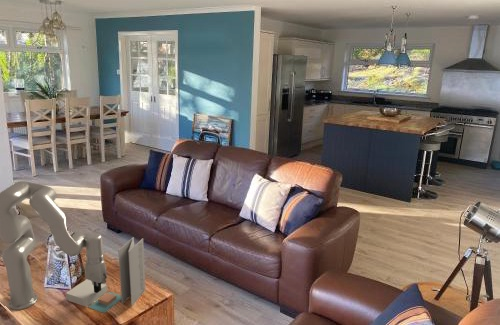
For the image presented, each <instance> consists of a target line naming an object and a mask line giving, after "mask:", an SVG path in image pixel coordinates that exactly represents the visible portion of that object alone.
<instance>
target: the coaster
mask: <svg viewBox="0 0 500 325" xmlns="http://www.w3.org/2000/svg"><path fill="white" fill-rule="evenodd" d="M97 300H98V303H101V304H104V305H107V306H108V305H110V304H111V303H112V302H113V301H115V300H116V295H113V294H110V293H107V292H106V293H105V294H103V295H102V296H101V297H99V298H98V299H97Z"/></svg>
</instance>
